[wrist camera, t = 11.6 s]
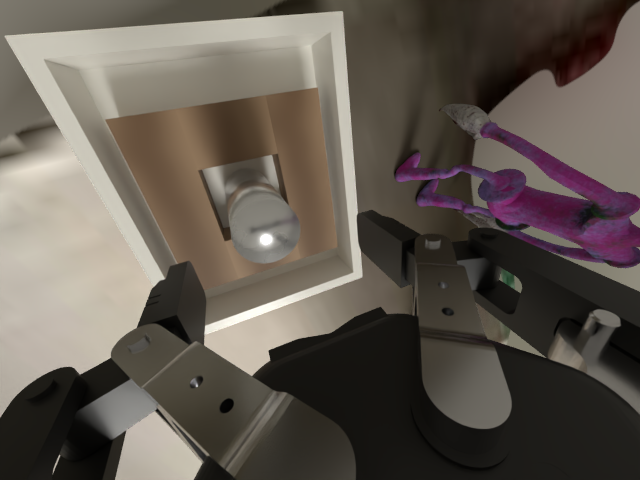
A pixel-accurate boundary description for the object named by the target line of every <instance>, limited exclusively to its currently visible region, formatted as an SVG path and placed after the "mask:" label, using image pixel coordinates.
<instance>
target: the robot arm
mask: <svg viewBox="0 0 640 480" xmlns="http://www.w3.org/2000/svg"><path fill="white" fill-rule="evenodd" d="M357 233H358V243H359V247H360V249H361V251H362V252H363V253H364V254H365V255H366V256H367V257H368V258H369V259H370V260H371V261H372V262H374V263H375V264H376V265H377V266H378V267H379V268H380V269H381V270H382V271H383V272H384V273H385V274H386V275H387V276H388V277H390V278H391V279H392V280H393V281H394V282H395V283H396V284H397V285H398V286H399V287H400V288H402V287H405V286H407V285H410V284H411V285H412V315H409V314H386V313H385V311H384V310H383V309H382V308H381V307H379V308H376V309H374V310H371V311H369V312H366V313H364V314H361V315H358V316H356V317H354V318H353V319H351V320H350V321H348V322H347V323H345V324H344V325H342V326H341V327H340V328H338V329H337V330H335V331H334V332H332V333H329V334H324V335H318V336H312V337H306V338H300V339H297V340H294V341H292V342H289V343H286V344H284V345H281V346H279V347H276V348H274V349H271V350H268V351H269V355H270V360H271V361H269V362H268V363H266V364H265V365H264V366H262V367H261V368H260V369H259V370H258V371H257V372H256V373H255V374H254V375H253V376H250V375H249V374H247V373H246V372H244V371H243V370H241V369H240V368H238V367H236V366H235V365H233V364H232V363H230V362H229V361H227V360H226V359H224V358H222V357H221V356H219V355H218V354H216V353H215V352H213V351H212V350H210V349H208V348H207V347H205V346H204V334H205V317H206V296H205V292H204V289H203V287H202V285H201V283H200V280H199V278H198V276H197V274H196V272H195V269H194V267H193V265H192V263H191V262H190V261H186V262H182V263H179V264H175V265H172V266H170V267H169V270H168V273H167V276H166V279H164V280H160V281H159V282H158V283H157V284H156V285H155V286H154V287H153V288H152V290H151V292H150V295H149V297H148V299H149V300H147V302H146V307H145V308H144V310H143V313H142V316H141V318H140V321H139V323H138V326H137V328H136V329H134V330H132V331H131V332H129V333H127V334H126V335H125V336H123V337H122V338H121V339H120V340H119V341H118V342H117V343H116V345H115V346H114V347H113V349H112V352H111V358H110V359H108V360H107V361H105V362H103V363H101V364H99V365H97V366H96V367H94V368H92V369H90V370H88V371H86V372H85V373H83V374H81V375H80V374H79V373H78V372H77V371H76V370H75V369H74V368H72V367H63V368H59V369H56V370H53V371H51V372H49V373H47V374H45V375H43V376H41V377H40V378H38V379H36V380H35V381H33V382H32V383H31V384H29V385H28V386H27V387H25V388H24V389H23V390H22V391H21V392H20V393H19V394H18V395H17V396H16V397H15V398H14V399H13V400H12V401H11V403H10V404H9V406H8V407H7V409H6V410H5V412H4V413H3V415H2V416H1V418H0V480H115V477H116V472H117V468H118V464H119V460H120V455H121V451H122V447H123V442H124V438H125V434H126V430H127V429H129V428H130V427H132V426H133V425H135V424H136V423H137V422H139V421H140V420H142V419H143V418H145V417H146V416H148V415H149V414H151V413H152V412H154V411H155V412H156V413H157V414H158V415H159V416H160V417H161V418H162V420H163V421H164V422H165V423H166V424H167V425H168V426H169V427H170V428H171V429H172V430H173V431H174V432H175V433H176V434H177V435H178V436H179V437H180V438H181V440H182V441H183V442H184V443H185V444H186V445H187V446H188V447H189V448H190V449H191V451H192V452H193V453H194V454H195V455H196V456H197V457H198V459H199V460H200V461H201V462H202V465H201V467H200V469H199V471H198V473H197V475H196V477H195V478H194V480H640V292H639V291H637V290H634V289H632V288H630V287H628V286H625V285H623V284H621V283H619V282H616V281H614V280H612V279H609V278H607V277H605V276H603V275H601V274H598V273H596V272H594V271H591V270H589V269H587V268H584V267H582V266H580V265H578V264H575V263H573V262H571V261H569V260H566V259H564V258H562V257H560V256H558V255H555V254H553V253H551V252H549V251H546V250H544V249H542V248H540V247H537V246H535V245H533V244H530V243H528V242H526V241H524V240H521V239H519V238H517V237H515V236H512V235H510V234H508V233H506V232H503V231H501V230H498V229H494V228H484V227H483V228H475V229H472V230H471V231H469V235H468V241H459V242H451V240H450V239H449V238H447V237H445V236H443V235H439V234H423V235H420V234H419V233H417V232H415V231H414V230H412V229H410V228H408V227H407V226H406V227H405V225H403V224H402V223H400V222H398V221H396V220H395V219H393V218H389V217H385V216H382V215H380V214H378V213H377V212H375V211H373V210H369V211H366V212H362V213H358V214H357ZM502 268H503V269H504V270H506V271H508V272H510V273H511V274H513V275H515V276H516V277H517V278H518V279H519V280H520V281H521V283H522V291H521V293H519V292H517V291H516V290H514V289H513V288H511V287H510V286H508V285H506V284H505V283H503V282H502V281H500V280H499V277H500V274H501V270H502ZM476 303H478V304H479V305H480V306H481V307H483V308H484V309H485V310H487V311H488V312H489V313H490V314H492V315H493V316H494V317H495V318H497V319H498V320H499V321H501V322H502V323H503V324H504V325H506V326H507V327H508V328H509V329H511V330H512V331H513V332H515V333H516V334H517V335H518V336H520V337H521V338H522V339H523V340H525V341H526V342H527V343H529V344H530V345H531V346H532V347H534V348H535V349H536V350H537V351H539V352H540V353H541V354H542V355H544V356H545V357H546V358H544V357H541V356H538V355H535V354H532V353H529V352H526V351H522V350H519V349H516V348H513V347H510V346H507V345H504V344H501V343H498V342H495V341H492V340H489V339H487V337H486V335H485V332H484V328H483V325H482V322H481V318H480V315H479V312H478V308H477V305H476ZM547 358H548V359H547ZM59 455H61V456H60V458H59V461H58V463H57V466H56V468H55V471H54V473H53V468H54V465H55V463H56V461H57V458H58V456H59ZM52 473H53V475H52Z"/></svg>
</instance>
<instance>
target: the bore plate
mask: <svg viewBox="0 0 640 480" xmlns="http://www.w3.org/2000/svg"><path fill="white" fill-rule="evenodd" d="M105 121H106V123H107V125H108V127H109V129H110V131H111V132H112V134H113V136H114V138H115V140H116V142H117V144H118V146H119V148H120V150H121V152H122V154H123V156H124V158H125V160H126V162H127V164H128V166H129V168H130V170H131V172H132V174H133V176H134V178H135V180H136V182H137V184H138V186H139V188H140V190H141V192H142V194H143V196H144V198H145V200H146V202H147V204H148V206H149V208H150V210H151V212H152V214H153V216H154V218H155V220H156V222H157V224H158V226H159V228H160V230H161V232H162V234H163V236H164V238H165V239H166V241H167V243H168V245H169V247H170V249H171V251H172V253H173V255H174V257H175V259H176V261H177V263H178V264H179V263H182V262H186V261H190V262H191V263H192V265H193V267H194V269H195V272H196V274H197V276H198V278H199V280H200V283H201V285H202V287H203V289H204V290H207V289H210V288H213V287H216V286H219V285H222V284H225V283H228V282H232V281H235V280H238V279H241V278H244V277H247V276H250V275H253V274H256V273H259V272H262V271H265V270H268V269H272V268H275V267H278V266H281V265H284V264H287V263H290V262H293V261H296V260H299V259H302V258H305V257H308V256H311V255H315V254H318V253H321V252H324V251H327V250H330V249H333V248H336V247H338V244H337V236H336V228H335V220H334V212H333V204H332V196H331V188H330V180H329V172H328V164H327V156H326V148H325V140H324V132H323V124H322V116H321V108H320V100H319V92H318V87H317V88H310V89H304V90H297V91H290V92H284V93H277V94H270V95H264V96H257V97H251V98H244V99H237V100H231V101H224V102H218V103H211V104H204V105H198V106H191V107H184V108H178V109H171V110H165V111H158V112H151V113H145V114H138V115H131V116H125V117H118V118H112V119H105ZM268 155H272V157H273V162H274V166H275V170H276V175H277V179H278V184H279V188H280V192H281V197H282V198H283V199H284V200H285V201H286V203H287V204H288V205H289V206H290V207H291V209H292V210H293V211H294V212H295V214H296V215H297V217H298V219H299V223H300V237H299V240H298V242H297V244H296V246H295V248H294V249H293V250H292V251H291V252H290V253H289V254H288V255H287V256H285V257H284V258H282V259H280V260H278V261H275V262H272V263H255V262H252V261H249V260H247V259H245V258H244V257H242V256H241V255H240V254H239V253H238V252H237V250H236V249H235V247H234V245H233V243H232V239H231V232H230V227H226V228H223V225H222V223H221V220H220V217H219V214H218V212H217V209H216V206H215V204H214V201H213V198H212V195H211V193H210V190H209V187H208V184H207V182H206V179H205V176H204V174H203V171H202V169H207V168H212V167H216V166H221V165H226V164H231V163H235V162H240V161H245V160H250V159H254V158H259V157H264V156H268Z"/></svg>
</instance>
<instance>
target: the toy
mask: <svg viewBox="0 0 640 480" xmlns="http://www.w3.org/2000/svg"><path fill="white" fill-rule="evenodd" d="M440 110H444V111H445V112H446V113H447V114H448V115H449V116H450V117H451V118H452V119H453V121H454V123H455V124H456V125H458V126H459V127H461V128H462V129H463V130H464V131H466V132H467V133H468V134H469V135H471V136H473V138H474V139H476V140H477V139H479V138H481V137H483V138H491V139H494V140H496V141H499V142H501V143H503V144H505V145H507V146H509V147H510V148H512V149H514V150H515V151H517V152H518V153H520V154H522V155H523V156H525V157H526V158H528V159H530V160H531V161H532V162H534V163H535V164H536V165H537V166H538V167H539V168H540V169H541V170H542V171H544V173H546V175H548V176H549V177H550V178H551V179H553V180H555V181H557V182H558V183H560V184H562V185H563V186H565V187H567V188H569V189H570V190H572V191H574V192H576V193H578V194H579V195H581V196H583V197H585V198H586V199H588V200H584V199H578V198H573V197H568V196H563V195H558V194H554V193H549V192H544V191H540V190H536V189H534V188H531V187H528V186H526V185H525V183H526V176H525V175H524V173H522V172H521V171H519V170H516V169H504V170H500V171H497V172H494V173H493V172H490V171H488V170H485V169H482V168H478V167H475V166H471V165H456V166H453V167H452V169H451V170H450V171H449V170H447V169H434V168H416V167H417V166H418V163H419V161H420V156H421V155H420V153H419V152H418V153H414V154H413V155H411V156H410V157H409V158H408V159H407V160H406V161H405V162H404V164H403V165H401V166H400V167H399V168H398V169H397V171H396V175H395V179H396V180H397V181H399V182H405V181H409V180H429V179H433V180H431V181H430V182H429V183H428V184H427V185H426V186H425V187H424V188H423V189H422V191H421V192H420V193H419V195H418V197H417V204H418V205H419V206H439V207H449V208H453V209H455V210H456V211H458V212H459V213H461V214H462V215H463V216H465V217H466V218H467V219H469V220H470V221H471V222H473V223H474V224H476V225H477V226H479V227H480V228H483V227H484V228H494V229H498V230H501V231H503V232H506V233H508V234H510V235H512V236H515V237H517V238H519V239H521V240H524V241H526V242H528V243H530V244H533V245H535V246H537V247H540V248H542V249H544V250H547V251H550V252H553V253H557V254H560V255H563V256H567V257H570V258H574V259H579V260H585V261H591V262H599V263H607V264H609V265H610V266H613V267H617V268H629V267H633V266H636V265H637V264H639V263H640V250H639V249H638V248H636V247H640V228H639V227H637V226H635V225H634V224H632V222H631V220H630V219H629V216H631V215H633V214H634V213H636V212H637V211H638V210H639V208H640V199H639V198H638V197H637V196H636V195H633V194H630V193H628V192H615V191H614V190H612V189H610V188H608V187H607V186H605V185H603V184H601V183H599V182H598V181H596V180H594V179H592V178H590V177H588V176H586V175H585V174H583V173H581V172H579V171H577V170H575V169H573V168H572V167H570V166H568V165H566V164H565V163H563V162H561V161H560V160H558V159H556V158H555V157H553V156H551V155H550V154H548V153H546V152H545V151H543V150H541V149H539V148H538V147H536V146H535V145H533V144H531V143H529V142H528V141H526V140H524V139H522V138H521V137H519V136H516V135H514V134H512V133H510V132H508V131H505V130H503V129H501V128H499V127H498V126H497V124H496V123H492V122H491V121H490V119H489V117H488V115H487V114H486V113H485V112H484V111H482V110H481V109H480V108H478V107H476V106H474V105H466V104H448V105H446V106H444V107H442V108H441V109H440ZM440 110H439V111H440ZM460 171H464V172H467V173H469V174H472V175H475V176H478V177H480V178H483V179H484V180H483V182H482V183H481V184H480V186H479V188H478V194H479V197H480V198H481V199H483V200H485V201H487V205H488V208H489V209H485V208H482V207H478V206H472V205H470V204H465V203H464V202H463V201H462V200H460V199H457V198H454V197H451V196H445V195H439V194H435V193H434V191H435V190H436V188H437V186H438V183H439V180H438V178H441V179H445V178H448V177H451V176H453V175H456V174H457V173H458V172H460ZM589 200H590V201H589ZM457 209H461V210H463V212H464V213H463V212H461V211H459V210H457ZM466 213H472V214H474V215H477V216H479V217H481V218H478V217H474V216H471V215H468V214H466ZM530 226H533V227H535V228H538V229H541V230H544V231H547V232H549V233H552V234H554V235H557V236H559V237H561V238H564V239H566V240H569V241H571V242H574V243H576V244H578V245H580V246H581V247H582V248H583V249H580V248H568V247H564V246H559V245H555V244H552V243H549V242H546V241H543V240H540V239H537V238H535V237H532V236H530V235H527V234H525V233H523V232H521V231H520V230H523V229H526V228H528V227H530Z"/></svg>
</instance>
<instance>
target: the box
mask: <svg viewBox="0 0 640 480" xmlns="http://www.w3.org/2000/svg"><path fill="white" fill-rule="evenodd" d="M5 38H6V39H7V41H8V43H9V45H10V46H11V48H12V50H13V51H14V53H15V55H16V56H17V58H18V60H19V61H20V63H21V65H22V66H23V68H24V70H25V72H26V73H27V75H28V77H29V78H30V80H31V82H32V83H33V85H34V87H35V88H36V90H37V92H38V94H39V95H40V97H41V98H42V100H43V102H44V103H45V105H46V107H47V109H48V110H49V112H50V114H51V115H52V117H53V119H54V120H55V122H56V124H57V126H58V127H59V129H60V131H61V132H62V134H63V136H64V137H65V139H66V141H67V142H68V144H69V146H70V147H71V149H72V151H73V152H74V154H75V156H76V158H77V159H78V161H79V163H80V164H81V166H82V168H83V169H84V171H85V173H86V174H87V176H88V178H89V179H90V181H91V183H92V184H93V186H94V188H95V189H96V191H97V193H98V195H99V196H100V198H101V200H102V201H103V203H104V205H105V206H106V208H107V210H108V211H109V213H110V215H111V216H112V218H113V220H114V221H115V223H116V225H117V227H118V228H119V230H120V232H121V233H122V235H123V237H124V238H125V240H126V242H127V243H128V245H129V247H130V248H131V250H132V252H133V253H134V255H135V257H136V259H137V260H138V262H139V264H140V265H141V267H142V269H143V270H144V272H145V274H146V275H147V277H148V279H149V280H150V282H151V284H152V285H153V287H154V286H155V285H156V284H157V283H158V282H159V281H160V280H164V279H166V276H167V273H168V270H169V267H170V266H172V265H175V264H178V263H177V261H176V259H175V257H174V255H173V253H172V251H171V249H170V247H169V245H168V243H167V241H166V239H165V238H164V236H163V234H162V232H161V230H160V228H159V226H158V224H157V222H156V220H155V218H154V216H153V214H152V212H151V210H150V208H149V206H148V204H147V202H146V200H145V198H144V196H143V194H142V192H141V190H140V188H139V186H138V184H137V182H136V180H135V178H134V176H133V174H132V172H131V170H130V168H129V166H128V164H127V162H126V160H125V158H124V156H123V154H122V152H121V150H120V148H119V146H118V144H117V142H116V140H115V138H114V136H113V134H112V132H111V131H110V129H109V127H108V125H107V123H106V121H105V119H112V118H118V117H125V116H131V115H138V114H145V113H151V112H158V111H165V110H171V109H178V108H184V107H191V106H198V105H204V104H211V103H218V102H224V101H231V100H237V99H244V98H251V97H257V96H264V95H270V94H277V93H284V92H290V91H297V90H304V89H310V88H317V87H318V92H319V100H320V108H321V116H322V124H323V132H324V140H325V148H326V156H327V164H328V172H329V180H330V188H331V196H332V204H333V212H334V220H335V228H336V236H337V244H338V247H336V248H333V249H330V250H327V251H324V252H321V253H318V254H315V255H311V256H308V257H305V258H302V259H299V260H296V261H293V262H290V263H287V264H284V265H281V266H278V267H275V268H272V269H268V270H265V271H262V272H259V273H256V274H253V275H250V276H247V277H244V278H241V279H238V280H235V281H232V282H228V283H225V284H222V285H219V286H216V287H213V288H210V289H207V290H204V292H205V296H206V317H205V334H204V335H206V334H209V333H212V332H214V331H217V330H220V329H222V328H225V327H228V326H231V325H233V324H236V323H239V322H241V321H244V320H247V319H250V318H252V317H255V316H258V315H261V314H263V313H266V312H269V311H271V310H274V309H277V308H280V307H282V306H285V305H288V304H291V303H293V302H296V301H299V300H301V299H304V298H307V297H310V296H312V295H315V294H318V293H320V292H323V291H326V290H329V289H331V288H334V287H337V286H340V285H342V284H345V283H348V282H350V281H353V280H356V279H359V278H361V277H362V264H361V251H360V247H359V243H358V233H357V214H358V210H357V197H356V183H355V170H354V157H353V143H352V130H351V116H350V103H349V89H348V76H347V63H346V49H345V36H344V22H343V11H337V12H324V13H310V14H296V15H283V16H269V17H255V18H242V19H228V20H215V21H201V22H187V23H173V24H160V25H146V26H132V27H118V28H105V29H91V30H77V31H64V32H50V33H37V34H23V35H9V36H5ZM244 168H250V169H254V170H257V171H259V172H260V173H262V174H263V175H264V176H265V177H266V179H267V180H268V181H269V182H270V183H271V185H272V186H273V187H274V188H275V189H276V191H277V192H278V193H279V194H280V195H281V192H280V188H279V184H278V179H277V175H276V170H275V166H274V162H273V157H272V155H268V156H264V157H259V158H254V159H250V160H245V161H240V162H235V163H231V164H226V165H221V166H216V167H212V168H207V169H202V171H203V174H204V176H205V179H206V182H207V184H208V187H209V190H210V193H211V195H212V198H213V201H214V204H215V206H216V209H217V212H218V214H219V217H220V220H221V223H222V225H223V228H226V227H230V224H229V217H228V210H227V203H226V196H225V184H226V181H227V179H228V177H229V176H230V175H231V174H232V173H233V172H235V171H237V170H239V169H244Z"/></svg>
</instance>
